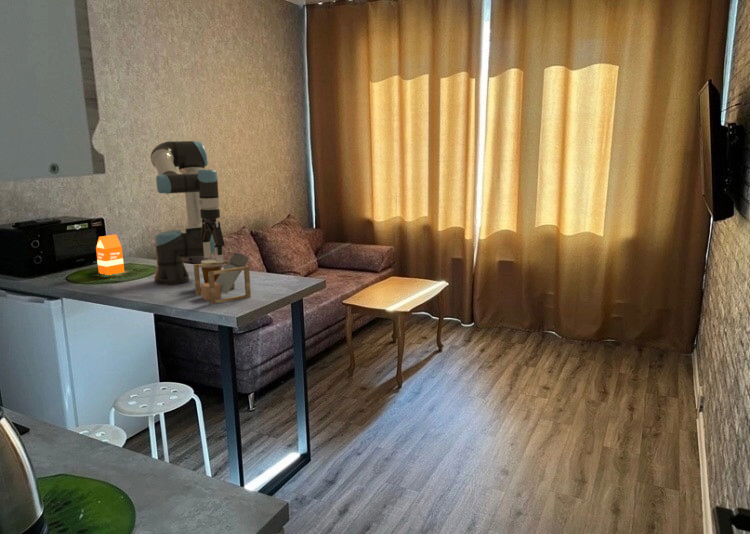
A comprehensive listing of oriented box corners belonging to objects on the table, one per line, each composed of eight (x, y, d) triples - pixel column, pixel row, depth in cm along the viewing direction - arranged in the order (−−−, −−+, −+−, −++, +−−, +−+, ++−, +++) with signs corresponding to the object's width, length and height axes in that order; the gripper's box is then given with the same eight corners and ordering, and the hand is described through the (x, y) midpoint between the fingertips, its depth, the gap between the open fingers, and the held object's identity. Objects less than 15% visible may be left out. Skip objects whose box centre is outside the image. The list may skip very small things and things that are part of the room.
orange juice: (99, 276, 272) (94, 236, 268) (116, 273, 279) (111, 233, 275) (108, 279, 268) (103, 237, 263) (125, 275, 275) (120, 235, 270)
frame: (195, 294, 238) (193, 264, 235) (233, 288, 248) (231, 259, 245) (211, 304, 223) (209, 272, 221) (250, 297, 233) (249, 266, 230)
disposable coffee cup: (222, 289, 246) (221, 262, 244) (200, 290, 245) (198, 263, 242) (225, 284, 255) (223, 258, 253) (203, 285, 254) (201, 259, 251)
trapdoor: (214, 288, 241) (210, 285, 239) (237, 254, 244) (233, 251, 243) (228, 295, 229) (223, 292, 228) (251, 259, 232) (247, 256, 231)
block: (215, 295, 237) (201, 298, 234) (214, 281, 236) (200, 284, 232) (221, 298, 232) (207, 301, 229) (220, 284, 231) (205, 286, 227)
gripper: (190, 206, 234) (194, 256, 238) (211, 211, 214) (215, 266, 218) (207, 205, 238) (211, 254, 242) (230, 210, 218) (234, 263, 223)
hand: (213, 260), depth 230 cm, fingers open, 13 cm apart
